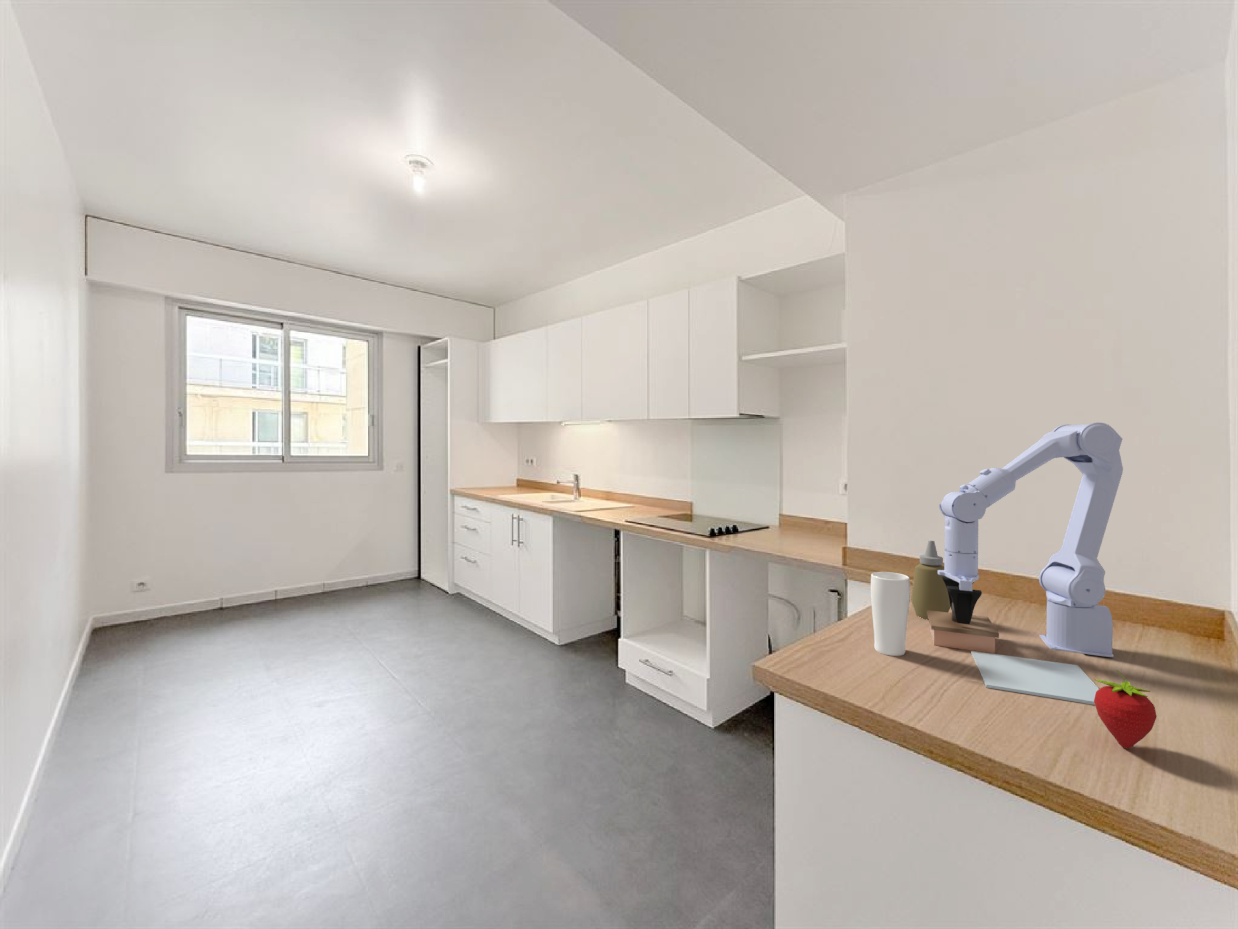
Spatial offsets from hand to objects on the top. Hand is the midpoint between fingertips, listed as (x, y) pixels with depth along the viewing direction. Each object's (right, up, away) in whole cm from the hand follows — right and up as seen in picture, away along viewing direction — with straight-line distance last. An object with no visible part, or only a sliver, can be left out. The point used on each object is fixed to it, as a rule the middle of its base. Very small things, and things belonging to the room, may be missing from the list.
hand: (960, 617), depth 106 cm
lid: (0, -2, 0) cm, 2 cm away
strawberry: (-3, -6, -37) cm, 38 cm away
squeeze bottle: (+3, -5, +15) cm, 16 cm away
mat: (+2, -6, -16) cm, 17 cm away
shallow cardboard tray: (0, -5, 0) cm, 5 cm away
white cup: (-17, -6, -5) cm, 18 cm away
